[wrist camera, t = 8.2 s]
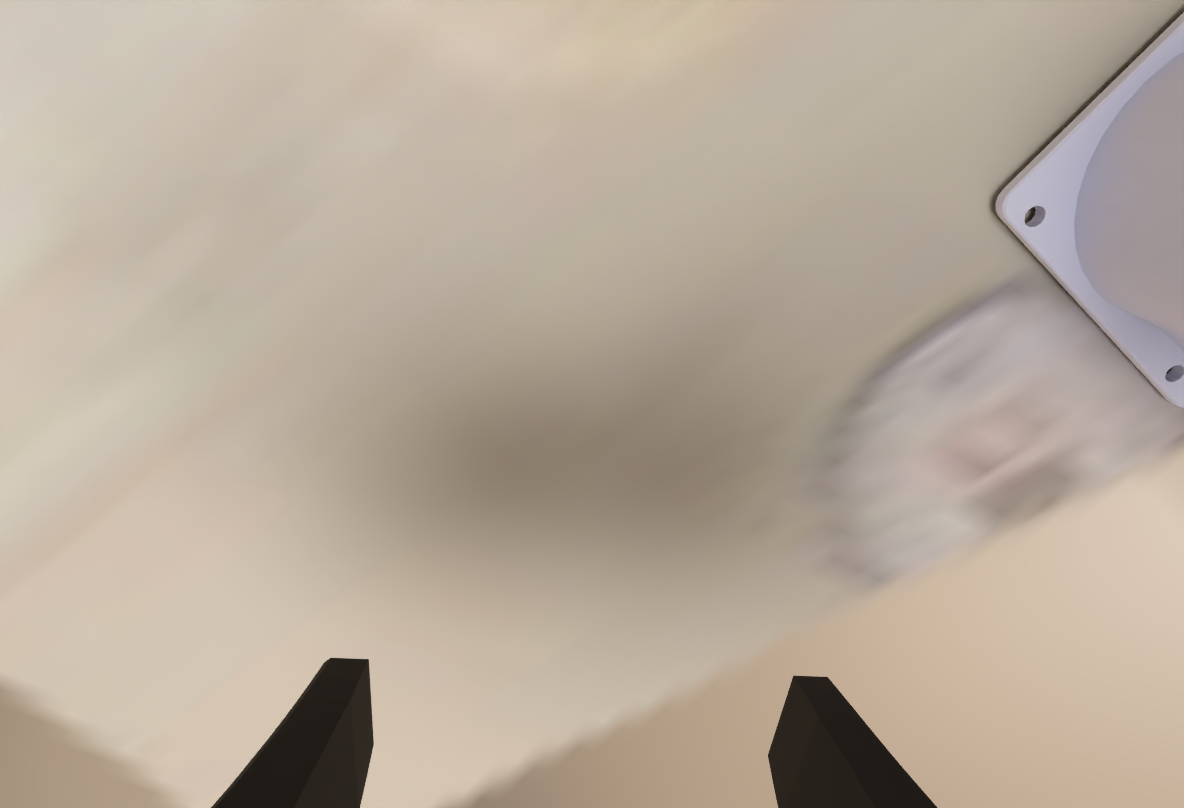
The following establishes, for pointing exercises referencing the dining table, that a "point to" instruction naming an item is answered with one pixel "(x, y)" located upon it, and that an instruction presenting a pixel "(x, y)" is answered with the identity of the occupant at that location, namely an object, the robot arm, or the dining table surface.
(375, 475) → the dining table surface
